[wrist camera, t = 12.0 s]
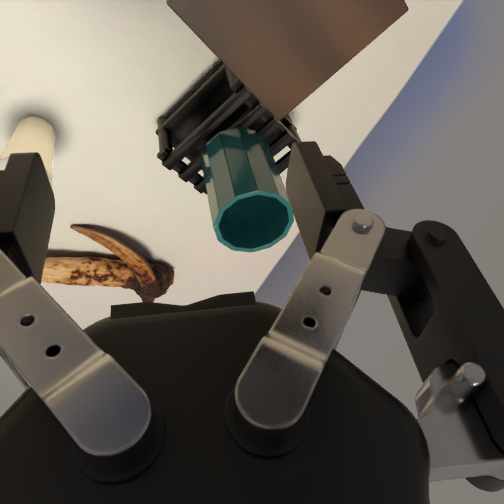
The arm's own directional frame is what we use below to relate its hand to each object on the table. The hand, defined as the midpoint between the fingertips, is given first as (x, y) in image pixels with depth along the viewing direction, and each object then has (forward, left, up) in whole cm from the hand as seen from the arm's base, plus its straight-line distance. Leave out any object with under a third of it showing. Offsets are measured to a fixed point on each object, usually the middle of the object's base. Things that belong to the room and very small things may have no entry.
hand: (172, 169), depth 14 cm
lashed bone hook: (+28, +17, -29) cm, 44 cm away
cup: (+5, +14, -21) cm, 26 cm away
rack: (+5, +14, -28) cm, 32 cm away
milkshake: (+18, +2, -29) cm, 34 cm away
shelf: (-6, +6, -28) cm, 30 cm away
